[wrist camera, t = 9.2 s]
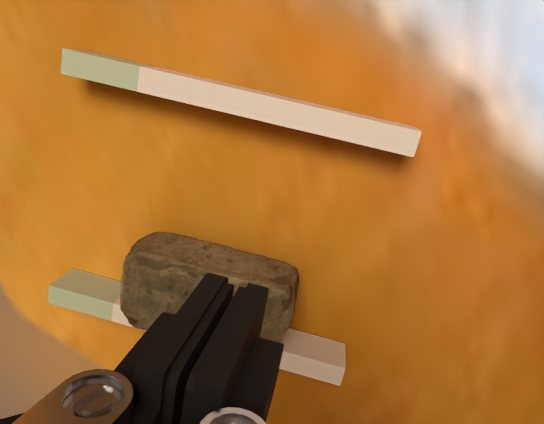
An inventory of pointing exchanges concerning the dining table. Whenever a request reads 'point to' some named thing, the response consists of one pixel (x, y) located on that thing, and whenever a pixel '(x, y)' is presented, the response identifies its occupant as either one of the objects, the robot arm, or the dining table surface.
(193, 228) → the dining table surface
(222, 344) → the robot arm
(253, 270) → the stone block
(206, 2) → the dining table surface
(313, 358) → the set of beige bars
